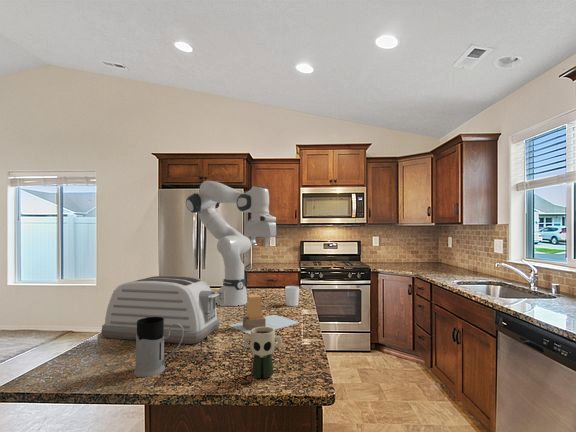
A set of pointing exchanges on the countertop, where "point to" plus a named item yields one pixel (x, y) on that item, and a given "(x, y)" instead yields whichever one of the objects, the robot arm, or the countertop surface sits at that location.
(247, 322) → the walnut plinth
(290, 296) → the white cup
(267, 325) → the board
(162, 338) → the glass holder
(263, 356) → the character mug
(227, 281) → the robot arm
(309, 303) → the countertop surface
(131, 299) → the toaster
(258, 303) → the orange block
